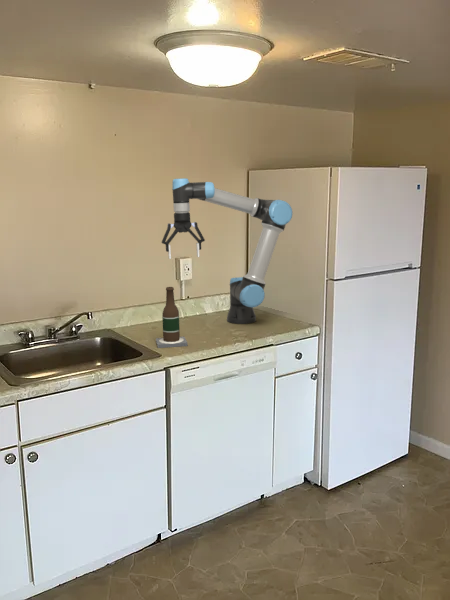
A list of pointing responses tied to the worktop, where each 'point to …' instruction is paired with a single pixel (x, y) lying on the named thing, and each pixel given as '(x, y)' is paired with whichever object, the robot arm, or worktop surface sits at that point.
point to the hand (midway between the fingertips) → (184, 257)
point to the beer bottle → (170, 318)
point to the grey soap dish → (171, 343)
